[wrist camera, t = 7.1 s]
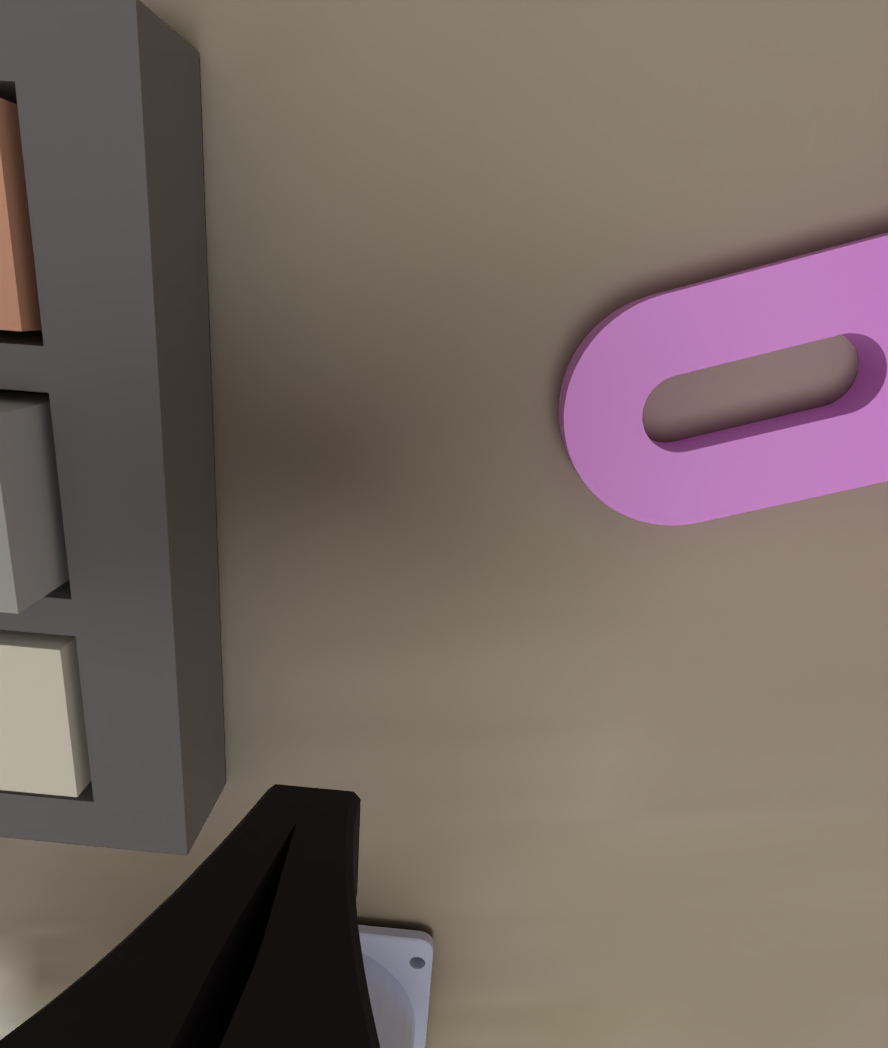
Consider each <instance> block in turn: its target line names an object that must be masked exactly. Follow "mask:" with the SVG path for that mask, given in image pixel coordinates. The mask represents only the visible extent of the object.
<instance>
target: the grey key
mask: <svg viewBox="0 0 888 1048" xmlns="http://www.w3.org/2000/svg"><path fill="white" fill-rule="evenodd" d="M68 580H69V572H68V563H67V554H66V544H65V535H64V526H63V517H62V508H61V499H60V490H59V481H58V471H57V462H56V453H55V444H54V435H53V426H52V417H51V408H50V398H49V395H48V394H35V393H22V392H9V391H0V612H4V613H16V614H19V613H20V612H22V611H23V610H25V609H26V608H28V607H29V606H31V605H32V604H34V603H35V602H37V601H38V600H40V599H41V598H43V597H44V596H46V595H47V594H49V593H50V592H52V591H53V590H55V589H56V588H58V587H59V586H61V585H62V584H64V583H65V582H67V581H68Z"/></svg>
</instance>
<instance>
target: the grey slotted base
mask: <svg viewBox="0 0 888 1048" xmlns="http://www.w3.org/2000/svg"><path fill="white" fill-rule="evenodd" d="M0 98H3V99H5V100H7V101H10V102H12V103H14V104H17V107H18V116H19V125H20V134H21V143H22V152H23V161H24V170H25V180H26V189H27V198H28V207H29V216H30V225H31V234H32V243H33V253H34V262H35V271H36V280H37V289H38V298H39V307H40V316H41V325H42V334H37V333H23V332H10V331H0V389H6V390H19V391H32V392H45V393H49V398H50V408H51V417H52V426H53V435H54V444H55V453H56V462H57V471H58V481H59V490H60V499H61V508H62V517H63V526H64V535H65V544H66V554H67V563H68V572H69V580H68V581H67V582H65V583H64V584H62V585H61V586H59V587H58V588H56V589H55V590H53V591H52V592H50V593H49V594H47V595H46V596H44V597H43V598H41V599H40V600H38V601H37V602H35V603H34V604H32V605H31V606H29V607H28V608H26V609H25V610H23V611H22V612H20V613H19V614H16V613H4V612H0V630H10V631H21V632H32V633H44V634H55V635H66V636H76V645H77V654H78V663H79V672H80V681H81V690H82V700H83V709H84V718H85V727H86V736H87V745H88V754H89V763H90V772H91V781H90V783H89V784H88V785H87V786H86V787H85V789H84V790H83V791H82V792H81V794H80V795H79V796H78V797H69V796H58V795H48V794H38V793H27V792H17V791H6V790H0V837H6V838H16V839H26V840H36V841H47V842H57V843H67V844H77V845H87V846H97V847H107V848H118V849H128V850H138V851H148V852H158V853H168V854H179V855H188V853H189V851H190V849H191V848H192V846H193V844H194V842H195V840H196V838H197V836H198V834H199V833H200V831H201V829H202V827H203V825H204V823H205V821H206V820H207V818H208V816H209V814H210V812H211V810H212V808H213V807H214V805H215V803H216V801H217V799H218V797H219V795H220V794H221V792H222V790H223V788H224V786H225V784H226V768H225V741H224V714H223V687H222V660H221V632H220V605H219V578H218V551H217V524H216V497H215V470H214V443H213V415H212V388H211V361H210V334H209V307H208V280H207V253H206V226H205V198H204V171H203V144H202V117H201V90H200V63H199V52H198V51H196V50H195V49H194V48H193V47H192V46H191V45H190V44H188V43H187V42H186V41H185V40H184V39H183V38H182V37H180V36H179V35H178V34H177V33H176V32H175V31H174V30H172V29H171V28H170V27H169V26H168V25H167V24H166V23H164V22H163V21H162V20H161V19H160V18H159V17H158V16H156V15H155V14H154V13H153V12H152V11H151V10H150V9H149V8H147V7H146V6H145V5H144V4H143V3H142V2H141V1H139V0H0Z"/></svg>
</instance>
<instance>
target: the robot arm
mask: <svg viewBox="0 0 888 1048" xmlns="http://www.w3.org/2000/svg"><path fill="white" fill-rule="evenodd" d="M359 827H360V798H359V797H358V796H357V795H356V794H355V793H354V792H351V791H340V790H330V789H319V788H309V787H298V786H287V785H277V784H275V785H274V786H272V787H271V788H270V789H268V790H267V792H266V793H265V794H264V795H263V796H262V797H261V799H260V800H259V801H258V802H257V803H256V804H255V806H254V807H253V808H252V809H251V810H250V811H249V813H248V814H247V815H246V816H245V817H244V818H243V819H242V821H241V822H240V823H239V824H238V825H237V826H236V827H235V829H234V830H233V831H232V832H231V833H230V834H229V835H228V836H227V837H226V838H225V839H224V841H223V842H222V843H221V844H220V845H219V846H218V847H217V848H216V849H215V850H214V851H213V853H212V854H211V855H210V856H209V857H208V858H207V859H206V860H205V861H204V862H203V863H202V864H201V865H200V866H199V867H198V868H197V869H196V870H195V871H194V872H193V873H192V874H191V875H190V876H189V877H188V878H187V880H186V881H185V882H184V883H183V884H182V885H181V886H180V887H179V888H178V889H177V890H176V891H175V892H174V893H173V894H172V895H171V896H170V897H169V898H168V899H167V900H165V901H164V902H163V903H162V904H161V905H160V906H159V907H158V908H157V909H156V910H155V911H154V912H153V913H152V914H151V915H150V916H149V917H147V918H146V919H145V920H144V921H143V922H142V923H141V924H140V925H139V926H138V927H137V928H136V929H135V930H134V931H133V932H132V933H131V934H129V935H128V936H127V937H126V938H125V939H124V940H123V941H122V942H121V943H120V944H119V945H117V946H116V947H115V948H114V949H113V950H112V951H111V952H109V953H108V954H107V955H106V956H105V957H104V958H103V959H102V960H100V961H99V962H98V963H97V964H96V965H95V966H93V967H92V968H91V969H90V970H89V971H88V972H86V973H85V974H84V975H83V976H82V977H80V978H79V979H78V980H77V981H75V982H74V983H73V984H72V985H71V986H69V987H68V988H67V989H66V990H65V991H63V992H62V993H61V994H60V995H58V996H57V997H56V998H55V999H54V1000H52V1001H51V1002H50V1003H49V1004H47V1005H46V1006H45V1007H43V1008H42V1009H41V1010H40V1011H38V1012H37V1013H36V1014H34V1015H33V1016H32V1017H30V1018H29V1019H28V1020H26V1021H25V1022H24V1023H22V1024H21V1025H20V1026H19V1027H17V1028H16V1029H15V1030H13V1031H12V1032H11V1033H9V1034H8V1035H7V1036H5V1037H4V1038H3V1039H1V1040H0V1048H425V1046H426V1034H427V1022H428V1010H429V997H430V985H431V973H432V961H433V949H434V942H433V939H432V937H431V936H430V935H429V934H427V933H426V932H423V931H417V930H407V929H397V928H387V927H377V926H367V925H358V920H357V910H356V896H357V882H358V854H359ZM415 957H420V958H415Z"/></svg>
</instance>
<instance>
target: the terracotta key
mask: <svg viewBox="0 0 888 1048" xmlns="http://www.w3.org/2000/svg"><path fill="white" fill-rule="evenodd" d="M0 330H10V331H36V330H42V325H41V316H40V307H39V298H38V289H37V280H36V271H35V262H34V253H33V243H32V234H31V225H30V216H29V207H28V198H27V189H26V180H25V170H24V161H23V152H22V143H21V134H20V125H19V116H18V107H17V104H14V103H12V102H10V101H7V100H5V99H3V98H0Z"/></svg>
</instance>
